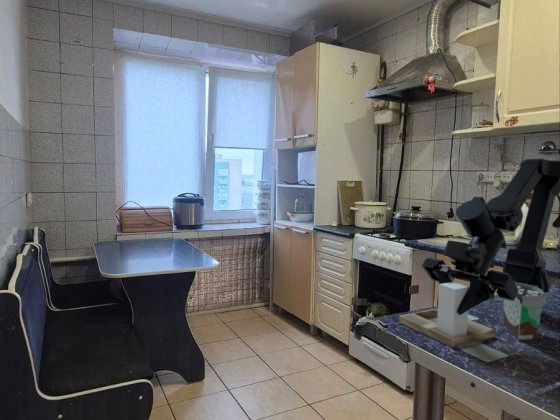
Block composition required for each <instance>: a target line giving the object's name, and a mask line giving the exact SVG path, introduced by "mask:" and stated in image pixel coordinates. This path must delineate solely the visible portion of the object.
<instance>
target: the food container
mask: <svg viewBox="0 0 560 420" xmlns="http://www.w3.org/2000/svg"><path fill="white" fill-rule="evenodd" d="M514 283H515V282H514ZM515 284H516V286H517V288H518V294H517V296H516V298H515V300H513V301H511V300H507V299H503V298H502V325H504V326H505V328H506V329H507V330H508V331H510V333H511V334H512V335H513V337H515V338H516V340H517V341H519V342H520V341H521V342H529V341H533V340H537V338H538V335H539V330H540V329H539V328H540V324H541V323H540V322H541V317H542V315H541V310H542V308H543V306H545V305H547V299H546V295H545V292H543V291H542V290H541V289H539V288H537V287H534V286H530V285H526V284H522V283H515Z"/></svg>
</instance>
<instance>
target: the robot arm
mask: <svg viewBox="0 0 560 420" xmlns="http://www.w3.org/2000/svg"><path fill="white" fill-rule="evenodd" d="M531 193H532V195H531ZM530 195H531V198H530V202H529V205H528V206H529V207H528V209H527V213H526V217H525V222H524V223H523V224H524V225H523V227H522V228H523V229H522V233H521V236H520V240H519V244H518V245H517V246H516V247H514V248H509V249H508V250H507V254H506V258H505V261H504V262H503V265H502V271H499V270H494V268H495V266H496V263H495V262H494V260H495V259H496V256H497V254H498V253H499V251H500V250H501V249H507V242H506V240H505V239H506V238H505V235H504V234H503V232H502V231H505V232H515V231H516V230H517V229H518V227H519V226H521V224H522V220H523V217H524V214H523V209H522V208H523V206H524V204H525V202H526V201H527V200H528V198H529V197H530ZM558 195H560V160H559V159H558V160H549V159H544V158H526V159H522V160H521V162H520V166H519V169H518V170H517V172H515V175H514V176H513V177H512V179H511V180H510V181H509V182H508V184H507V186H506V187H505V188H504V190H503V191H502V193H501V194H499V195H498V196H495V197H493V198H490V199H489V201H488V202H487V203H486V201H485V199H484V197H483V196H473V198H472V199H471V200H468V201H465V202H464V203H462V204H460V205H459V206H457V208H456V209H455V215H456V217H457V219H458V221H459V223H460V225H462V227H463V229H464V231H465V233H466V235H468V236H470V237H471V239H470V241H469V243H467V242H463V241H462V242H461V241H455V240H451V239H450V240H447V242H446V244H445V245H446V246H445V249H444V252H443V256H445V257H448V258H450V259H451V260H450V263H451V264H452V266H454V268H453V267H451V266H449V265H447V264H446V262H445V261H444V259H440V258H439V259H438V258H436V257H435V258H434V257H426V258H425V259H424V261H423V263H422V264H421V267H422V268H423V270H424V271H425V272H426V274H427V275H428V276H429V278H430V279H431V280H432V281H434V282H437V283H438V285H439V284H444V283H450V282H454V281H455V279H456V280H461V281H465V282H469V286H468V287H469V289H468V291H467V293H466V295H465V296H464V298H463V300H462V302H461V303H460V305H459V308H458V310H457V313H458V314H459V315H461V314H463V313H465V312H466V311H468V312H469V310H472V308H474V307H476V306H478V305H480V304H481V303H484V302H486V301H488V300H489V299H490V300H495V298H496V296H495V293H496V294H497V296H498V297H499V298H500V299H502V300H503V299H507V300H511V301H513V300H515V298H516V296H517V294H518V288H517V286H516V284H515V283H522V284H526V285H530V286H534V287H537V288H539V289H541V290H542V291H543V292H544V293H550V290H551V287H552V280H551V278H550V276H549V274H548V271H547V270H546V268H547V267H546V266H547V262H546V259H545V257H544V254H543V253H542V250H543V245H544V241H545V239H546V234H547V229H548V226H549V222H550V218H551V215H552V210H553V207H554V204H555V199H556V197H557V196H558ZM489 269H490V270H489ZM514 282H515V283H514ZM438 294H439V290H438V292H437V295H438ZM436 308H438V298H437V300H436ZM545 314H547V311H546V310H541V316H542V315H545Z"/></svg>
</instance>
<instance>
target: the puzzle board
mask: <svg viewBox="0 0 560 420" xmlns="http://www.w3.org/2000/svg"><path fill="white" fill-rule="evenodd" d="M437 317H438V307H436V308H431V309H427V310H422V311H416V312H413V313H412V312H411V313H407V314H402V315H398V323H399V324H400V325H403V326H406V327H408V328H410V329H412V330H414V331H416V332H419V333H421V334H422V335H425V336H427V337H429V338H431V339H433V340H435V341H438V342H440V343H442V344H444V345H446V346H448V347H451V348H453V349H454V348H456V349H458V350H460V351H462V352H463V353H466V354H468V355H471V356H472V357H475V358H477V359H479V360H481V361H484V362H486V363H489V362H490V363H491V362H494V361H497V360H500V359H504V358H506V357H510V355H509V354H506V353H504V352H502V351H501V350H500V351H499V350H497V349H494V348H492V347H490V346H488V345H485V344H483V342H482V341H484V340H488V339H493V338H495V332H496V331H495V330H496V329H495V328H491V327H488V326H486V325H484V324H480V323H479V322H475V321H476V320H480V318H479V317H476V316H473V315H471V314H468V319H467V335H466V336H462V337H458V338H454V339H453V338H450V337H448V336H446V335H444V334H441V333H439V332H437Z"/></svg>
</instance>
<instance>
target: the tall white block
mask: <svg viewBox="0 0 560 420" xmlns="http://www.w3.org/2000/svg"><path fill="white" fill-rule="evenodd" d="M469 287H470V286H467V285H464V284H461V283H458V282H454V281H453V282H450V283H444V284H439V283H438V291H439V294H438V293H437V299H438V307H437V308H438V317H437V332H439V333H441V334H444V335H446V336H448V337H450V338H453V339H454V338H458V337H462V336H466V335H467V319H468V315H469V310H468V311H466V312H465V313H463V314H461V315H459V314H458V313H457V310H458V308H459V305H460V303H461V302H462V300H463V298H464V296H465V295H466V293H467V291H468V289H469Z"/></svg>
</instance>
